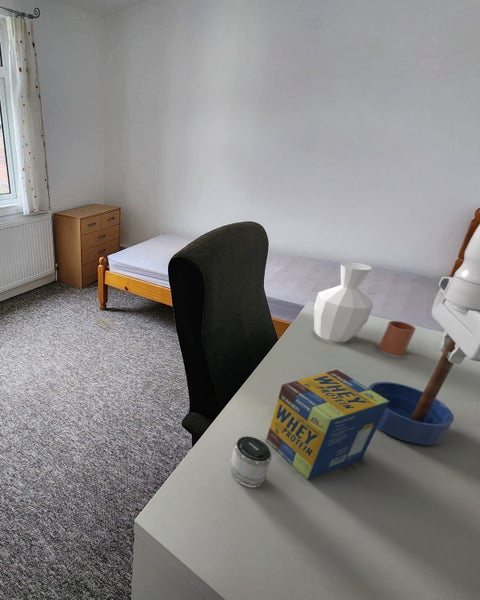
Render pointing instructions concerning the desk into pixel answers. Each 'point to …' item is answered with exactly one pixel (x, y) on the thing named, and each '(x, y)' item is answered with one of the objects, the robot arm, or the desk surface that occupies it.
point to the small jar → (250, 461)
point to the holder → (397, 337)
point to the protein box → (324, 422)
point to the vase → (343, 305)
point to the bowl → (402, 410)
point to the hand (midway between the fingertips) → (449, 357)
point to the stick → (434, 384)
